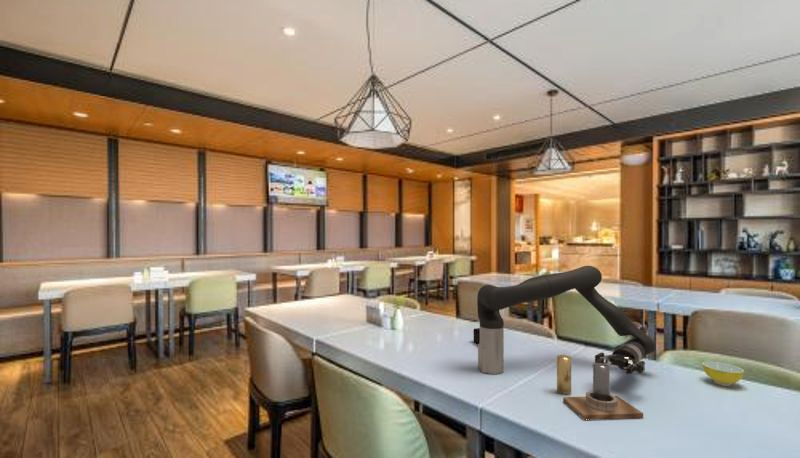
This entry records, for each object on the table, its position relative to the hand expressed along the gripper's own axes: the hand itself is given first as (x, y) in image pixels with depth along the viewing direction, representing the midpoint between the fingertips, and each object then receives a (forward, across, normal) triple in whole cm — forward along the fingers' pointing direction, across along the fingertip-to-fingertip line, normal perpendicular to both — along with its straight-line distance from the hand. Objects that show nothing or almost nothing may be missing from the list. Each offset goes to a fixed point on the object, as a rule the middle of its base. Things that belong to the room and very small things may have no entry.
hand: (612, 367), depth 124 cm
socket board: (+11, 0, +10) cm, 15 cm away
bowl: (-42, +24, +10) cm, 49 cm away
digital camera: (-20, -63, +10) cm, 67 cm away
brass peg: (+7, -13, +10) cm, 18 cm away
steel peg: (+11, 0, +9) cm, 14 cm away
